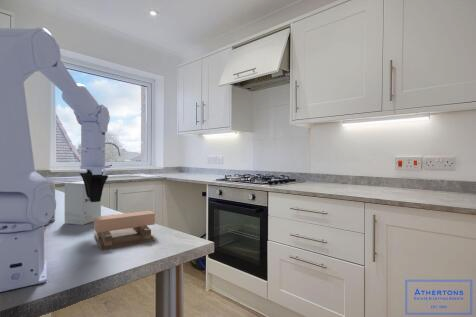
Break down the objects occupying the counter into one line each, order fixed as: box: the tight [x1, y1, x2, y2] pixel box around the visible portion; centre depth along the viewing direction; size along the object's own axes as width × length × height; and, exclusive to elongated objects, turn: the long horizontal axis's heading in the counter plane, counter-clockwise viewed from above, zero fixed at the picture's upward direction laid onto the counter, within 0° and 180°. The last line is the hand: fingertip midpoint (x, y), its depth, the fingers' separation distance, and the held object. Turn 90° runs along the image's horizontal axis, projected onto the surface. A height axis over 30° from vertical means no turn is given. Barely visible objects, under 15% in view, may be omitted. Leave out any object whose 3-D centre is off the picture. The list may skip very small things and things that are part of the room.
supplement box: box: [64, 180, 102, 226], centre depth 84 cm, size 7×7×13 cm
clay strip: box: [93, 210, 156, 233], centre depth 69 cm, size 14×4×3 cm, turn 125°
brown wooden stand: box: [93, 225, 155, 251], centre depth 69 cm, size 12×12×3 cm
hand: (93, 199), depth 72 cm, fingers open, 7 cm apart
